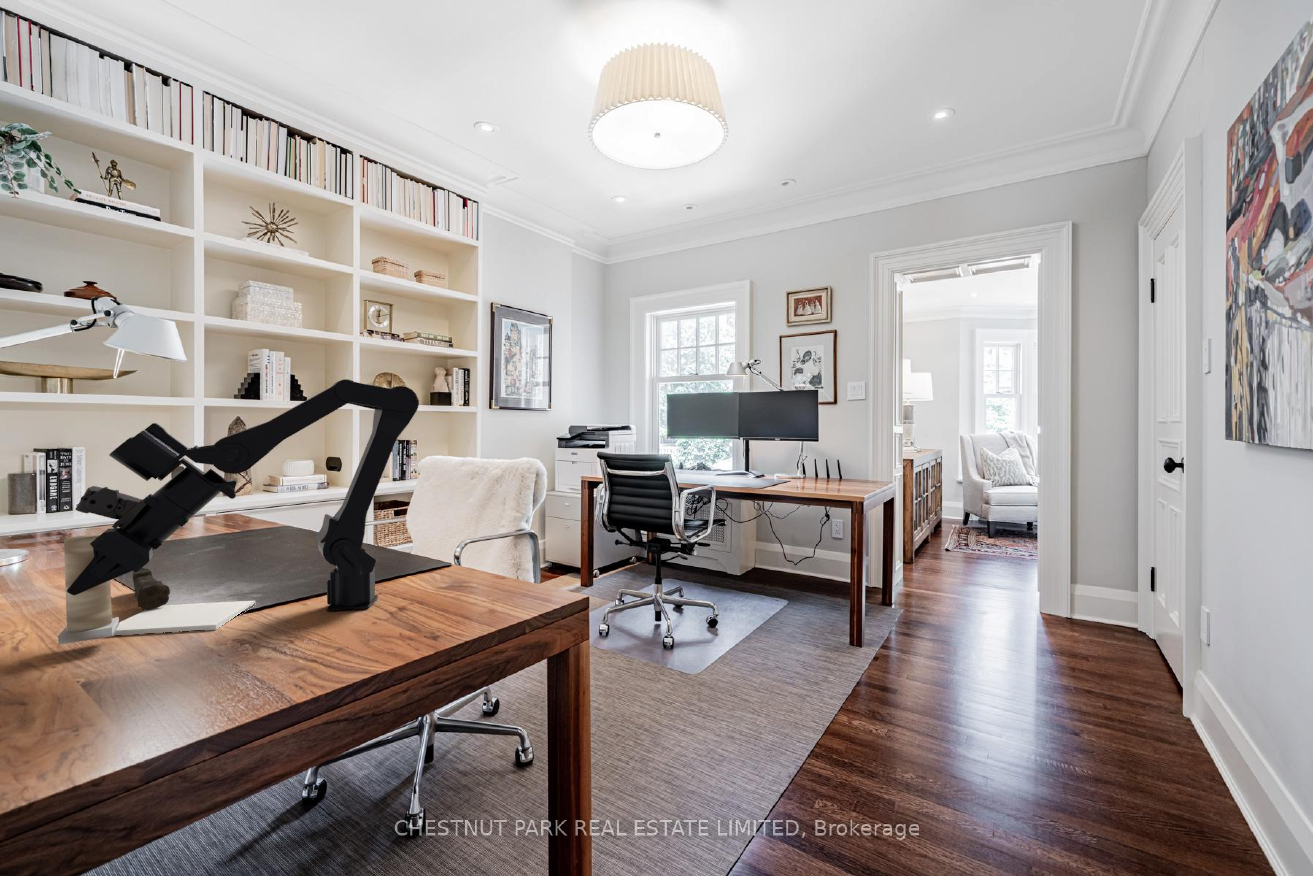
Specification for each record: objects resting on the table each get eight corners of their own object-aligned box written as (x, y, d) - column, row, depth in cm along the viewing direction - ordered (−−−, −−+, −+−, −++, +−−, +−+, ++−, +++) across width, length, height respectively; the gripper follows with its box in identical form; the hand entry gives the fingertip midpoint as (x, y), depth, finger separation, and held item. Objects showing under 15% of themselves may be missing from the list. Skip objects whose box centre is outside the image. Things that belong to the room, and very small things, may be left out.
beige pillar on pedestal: (118, 625, 82) (116, 532, 82) (112, 636, 78) (109, 538, 78) (68, 633, 79) (64, 536, 79) (58, 644, 75) (55, 542, 75)
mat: (255, 605, 98) (255, 600, 98) (215, 629, 86) (215, 624, 86) (155, 610, 95) (155, 605, 95) (100, 636, 83) (100, 631, 83)
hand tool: (171, 605, 94) (168, 578, 94) (139, 612, 91) (136, 584, 91) (161, 587, 108) (158, 563, 108) (132, 593, 105) (130, 568, 105)
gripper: (133, 461, 88) (32, 541, 82) (111, 469, 73) (-15, 568, 67) (200, 507, 93) (109, 586, 87) (192, 524, 78) (81, 620, 71)
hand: (74, 589), depth 78 cm, fingers closed on beige pillar on pedestal, 4 cm apart
